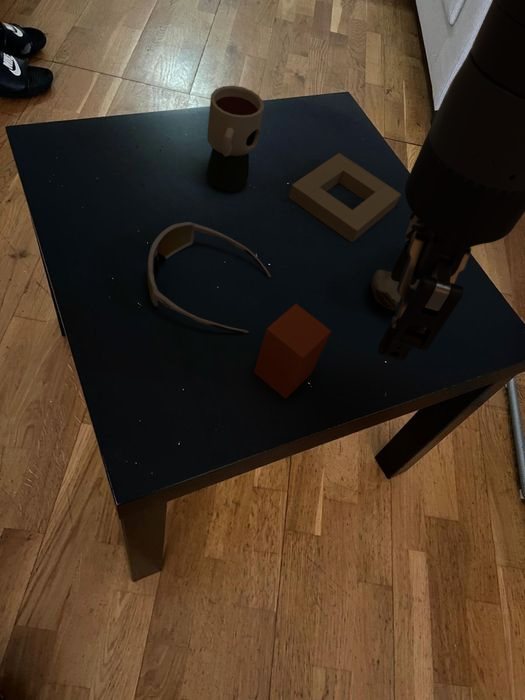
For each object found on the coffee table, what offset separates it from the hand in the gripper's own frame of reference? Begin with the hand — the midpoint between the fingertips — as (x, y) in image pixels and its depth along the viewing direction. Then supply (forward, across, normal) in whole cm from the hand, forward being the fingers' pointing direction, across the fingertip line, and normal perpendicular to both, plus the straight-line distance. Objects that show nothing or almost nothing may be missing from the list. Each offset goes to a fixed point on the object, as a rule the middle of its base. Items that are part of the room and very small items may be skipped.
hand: (396, 315), depth 45 cm
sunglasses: (+20, +13, +20) cm, 31 cm away
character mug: (+19, +34, +24) cm, 46 cm away
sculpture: (+20, +25, -5) cm, 32 cm away
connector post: (+20, +4, +7) cm, 22 cm away
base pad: (+19, +38, +6) cm, 43 cm away
